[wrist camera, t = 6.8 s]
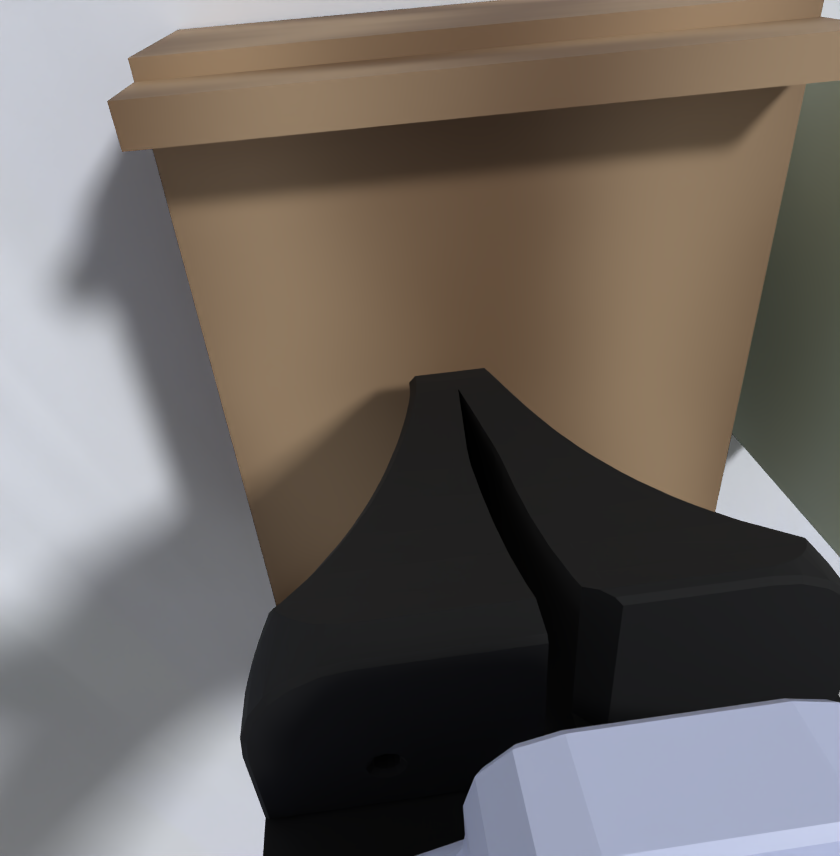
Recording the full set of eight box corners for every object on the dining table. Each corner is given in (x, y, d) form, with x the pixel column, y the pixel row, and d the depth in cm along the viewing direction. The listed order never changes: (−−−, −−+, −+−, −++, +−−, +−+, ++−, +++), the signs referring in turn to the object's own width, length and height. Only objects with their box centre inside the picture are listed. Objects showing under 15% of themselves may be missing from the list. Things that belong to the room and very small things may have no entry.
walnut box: (291, 518, 20) (280, 686, 15) (177, 29, 13) (99, 74, 9) (641, 474, 20) (729, 625, 16) (705, -19, 14) (892, -1, 9)
